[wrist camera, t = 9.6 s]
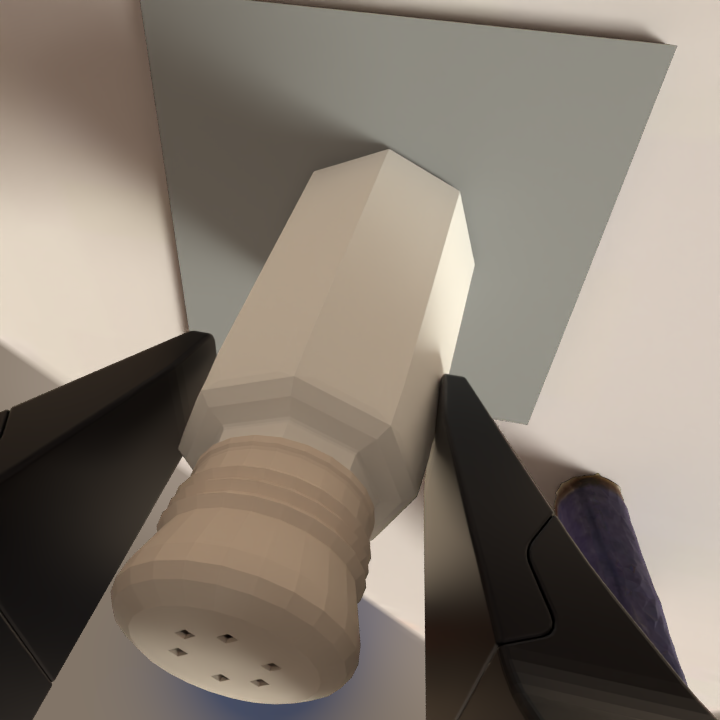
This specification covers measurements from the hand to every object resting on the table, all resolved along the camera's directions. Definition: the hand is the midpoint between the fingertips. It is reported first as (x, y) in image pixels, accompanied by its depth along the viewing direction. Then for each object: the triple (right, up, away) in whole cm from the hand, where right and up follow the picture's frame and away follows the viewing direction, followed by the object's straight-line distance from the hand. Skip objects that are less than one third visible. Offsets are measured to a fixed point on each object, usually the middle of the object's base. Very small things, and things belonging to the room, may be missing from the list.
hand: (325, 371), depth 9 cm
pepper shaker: (+1, +4, +5) cm, 6 cm away
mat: (+1, +4, +5) cm, 7 cm away
